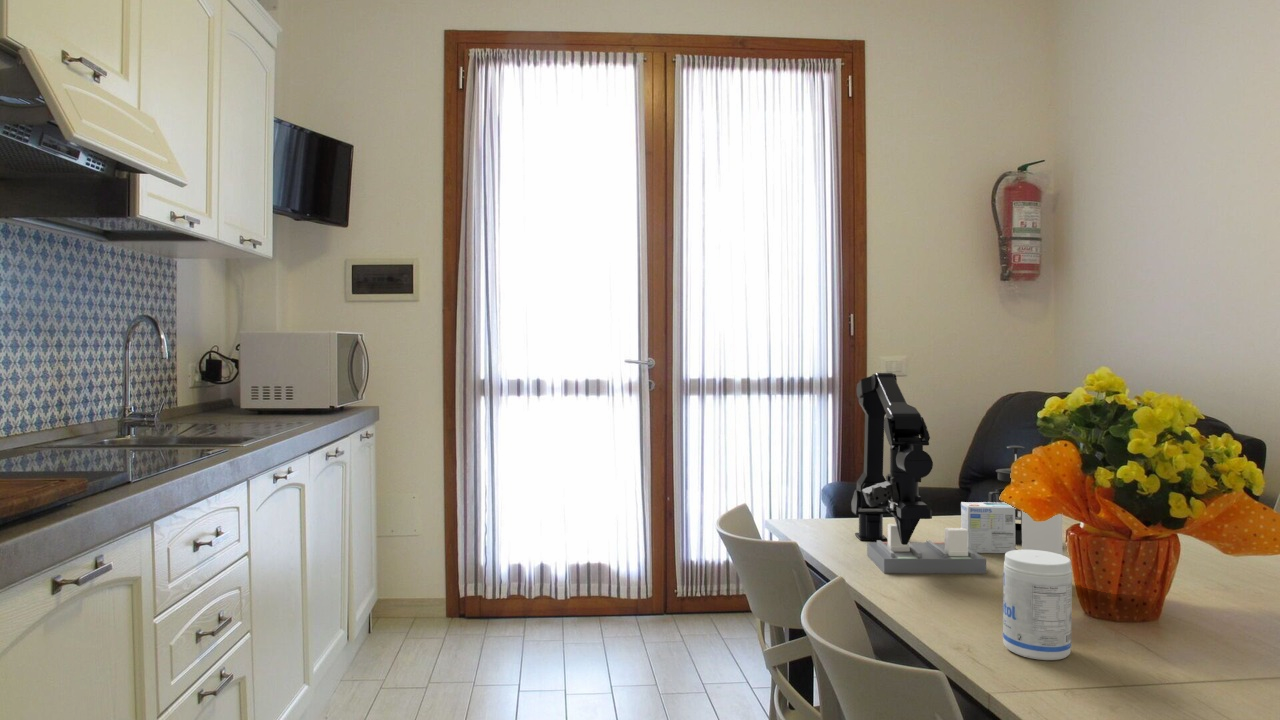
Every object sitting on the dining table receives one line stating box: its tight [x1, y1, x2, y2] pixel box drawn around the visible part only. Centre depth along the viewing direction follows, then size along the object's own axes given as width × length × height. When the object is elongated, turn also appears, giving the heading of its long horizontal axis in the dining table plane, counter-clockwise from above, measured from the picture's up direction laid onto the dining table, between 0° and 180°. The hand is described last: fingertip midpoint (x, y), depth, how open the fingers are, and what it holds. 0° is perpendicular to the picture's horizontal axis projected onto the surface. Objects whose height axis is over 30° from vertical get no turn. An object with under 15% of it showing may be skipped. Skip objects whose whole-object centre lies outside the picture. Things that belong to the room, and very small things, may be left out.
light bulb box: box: [960, 501, 1016, 554], centre depth 193 cm, size 11×7×11 cm, turn 84°
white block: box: [887, 523, 910, 552], centre depth 181 cm, size 3×4×5 cm
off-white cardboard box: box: [1021, 511, 1063, 555], centre depth 165 cm, size 7×7×19 cm
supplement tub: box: [1002, 549, 1073, 661], centre depth 128 cm, size 10×10×15 cm
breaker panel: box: [866, 539, 987, 575], centre depth 181 cm, size 15×21×4 cm
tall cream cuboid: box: [944, 527, 968, 556], centre depth 176 cm, size 3×4×5 cm
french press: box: [988, 445, 1026, 546], centre depth 202 cm, size 12×9×23 cm
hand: (904, 544), depth 176 cm, fingers closed
